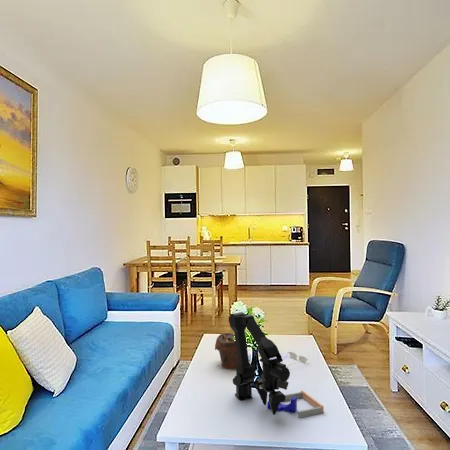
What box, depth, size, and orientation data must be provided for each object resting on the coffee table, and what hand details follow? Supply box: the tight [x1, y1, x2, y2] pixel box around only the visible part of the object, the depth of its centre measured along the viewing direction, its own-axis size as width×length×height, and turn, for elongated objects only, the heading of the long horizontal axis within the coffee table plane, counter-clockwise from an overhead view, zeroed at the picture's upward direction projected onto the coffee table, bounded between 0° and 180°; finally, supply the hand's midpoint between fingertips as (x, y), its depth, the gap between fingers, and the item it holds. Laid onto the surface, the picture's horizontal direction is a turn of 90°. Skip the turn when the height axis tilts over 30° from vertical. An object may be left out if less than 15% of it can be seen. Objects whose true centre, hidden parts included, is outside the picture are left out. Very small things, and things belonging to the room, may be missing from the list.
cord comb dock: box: [284, 389, 325, 419], centre depth 180 cm, size 12×17×3 cm
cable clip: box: [266, 392, 298, 414], centre depth 178 cm, size 12×4×6 cm, turn 61°
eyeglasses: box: [271, 351, 308, 369], centre depth 233 cm, size 15×18×4 cm
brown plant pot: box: [214, 332, 239, 370], centre depth 232 cm, size 18×20×18 cm
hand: (269, 409), depth 175 cm, fingers open, 9 cm apart
